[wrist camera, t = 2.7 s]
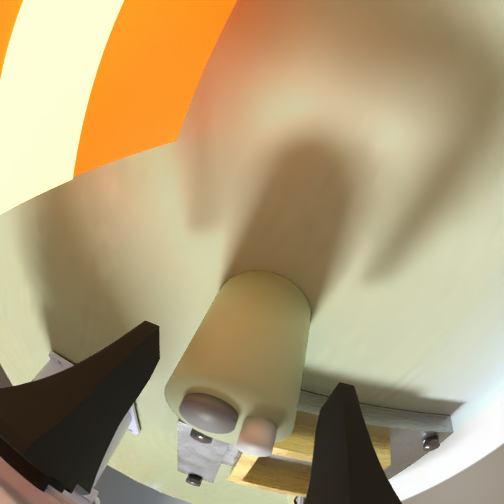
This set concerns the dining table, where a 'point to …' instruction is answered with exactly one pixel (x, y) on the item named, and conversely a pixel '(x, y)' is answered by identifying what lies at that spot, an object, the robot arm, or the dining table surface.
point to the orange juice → (95, 83)
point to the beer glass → (295, 499)
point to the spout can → (245, 364)
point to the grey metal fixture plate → (310, 447)
